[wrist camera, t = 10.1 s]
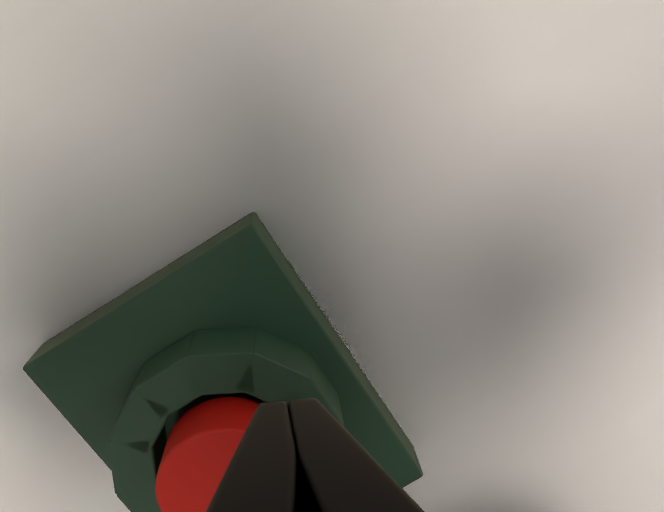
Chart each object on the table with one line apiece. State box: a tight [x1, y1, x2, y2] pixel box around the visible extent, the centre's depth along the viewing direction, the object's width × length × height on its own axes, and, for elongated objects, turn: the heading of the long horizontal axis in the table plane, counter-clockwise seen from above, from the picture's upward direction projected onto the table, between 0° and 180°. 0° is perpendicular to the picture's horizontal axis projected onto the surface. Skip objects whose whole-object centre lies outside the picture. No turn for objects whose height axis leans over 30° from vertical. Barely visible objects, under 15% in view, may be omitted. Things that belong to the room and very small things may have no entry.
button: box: [155, 397, 261, 512], centre depth 17 cm, size 4×4×2 cm
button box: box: [23, 212, 423, 512], centre depth 19 cm, size 10×8×4 cm
